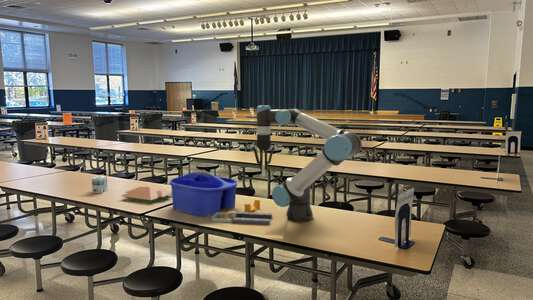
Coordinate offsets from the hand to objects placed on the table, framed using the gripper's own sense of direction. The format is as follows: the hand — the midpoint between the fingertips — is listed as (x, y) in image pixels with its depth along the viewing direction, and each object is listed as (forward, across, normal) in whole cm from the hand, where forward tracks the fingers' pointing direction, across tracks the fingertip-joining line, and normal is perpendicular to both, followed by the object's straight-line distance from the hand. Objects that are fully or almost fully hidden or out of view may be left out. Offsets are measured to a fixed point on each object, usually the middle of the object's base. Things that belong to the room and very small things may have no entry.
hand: (263, 175), depth 208 cm
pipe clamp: (+25, +8, -10) cm, 28 cm away
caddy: (+25, +40, -15) cm, 49 cm away
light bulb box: (+25, +126, -43) cm, 135 cm away
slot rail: (+24, +5, +8) cm, 26 cm away
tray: (+24, +21, +8) cm, 33 cm away
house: (+25, +85, -32) cm, 94 cm away
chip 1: (+24, +20, +8) cm, 32 cm away
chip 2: (+23, +16, +8) cm, 29 cm away
